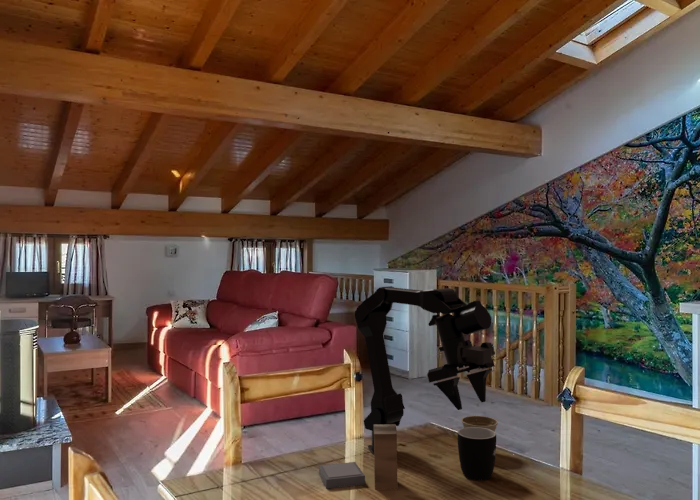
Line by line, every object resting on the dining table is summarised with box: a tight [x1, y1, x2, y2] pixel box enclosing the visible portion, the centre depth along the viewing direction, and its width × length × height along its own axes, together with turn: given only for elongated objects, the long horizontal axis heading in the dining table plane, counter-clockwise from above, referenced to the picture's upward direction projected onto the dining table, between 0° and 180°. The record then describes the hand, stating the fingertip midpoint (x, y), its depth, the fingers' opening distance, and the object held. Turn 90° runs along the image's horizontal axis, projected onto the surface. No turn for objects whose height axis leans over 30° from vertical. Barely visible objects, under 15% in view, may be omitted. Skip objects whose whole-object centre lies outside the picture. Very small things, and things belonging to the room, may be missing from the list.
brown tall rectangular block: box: [373, 424, 398, 490], centre depth 130 cm, size 5×5×13 cm
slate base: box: [318, 461, 366, 489], centre depth 134 cm, size 9×9×2 cm
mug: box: [457, 427, 497, 481], centre depth 137 cm, size 12×9×10 cm
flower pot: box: [461, 415, 499, 433], centre depth 150 cm, size 9×9×9 cm
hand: (472, 405), depth 132 cm, fingers open, 9 cm apart
